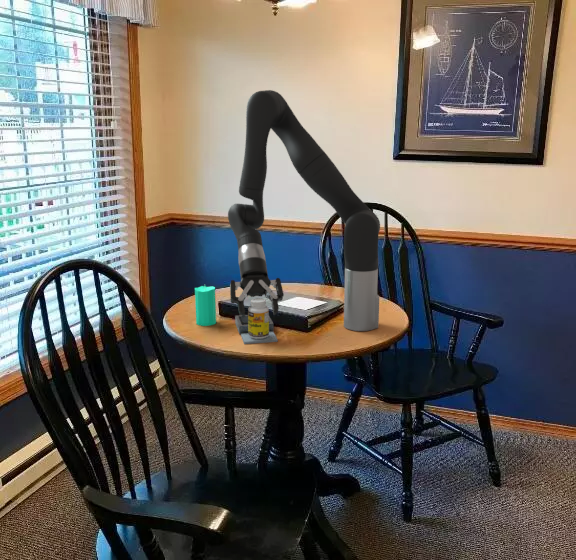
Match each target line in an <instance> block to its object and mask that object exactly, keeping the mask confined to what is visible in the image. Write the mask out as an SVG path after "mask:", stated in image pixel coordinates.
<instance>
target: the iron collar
mask: <svg viewBox="0 0 576 560" xmlns="http://www.w3.org/2000/svg"><path fill="white" fill-rule="evenodd" d="M234 319H235V320H234V322H235V327H236V329H237V332H238V334H239V335H240V336H241V334H246V333H249V331H248V314H245V317H242V315H240V314H239V315H234ZM274 326H275V325H274V322H273V320H272V318H271V317H270V316H269V332H274V331H275V330H274ZM274 333H275V332H274Z"/></svg>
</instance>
